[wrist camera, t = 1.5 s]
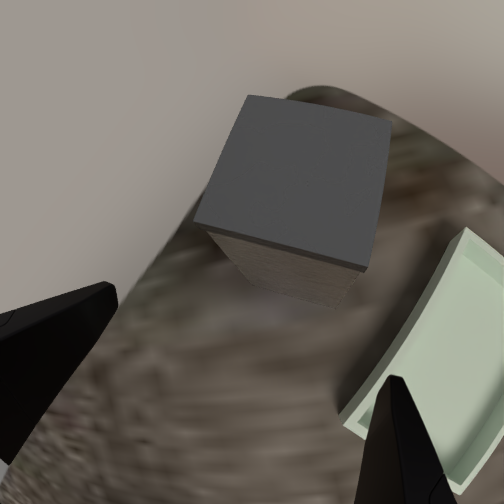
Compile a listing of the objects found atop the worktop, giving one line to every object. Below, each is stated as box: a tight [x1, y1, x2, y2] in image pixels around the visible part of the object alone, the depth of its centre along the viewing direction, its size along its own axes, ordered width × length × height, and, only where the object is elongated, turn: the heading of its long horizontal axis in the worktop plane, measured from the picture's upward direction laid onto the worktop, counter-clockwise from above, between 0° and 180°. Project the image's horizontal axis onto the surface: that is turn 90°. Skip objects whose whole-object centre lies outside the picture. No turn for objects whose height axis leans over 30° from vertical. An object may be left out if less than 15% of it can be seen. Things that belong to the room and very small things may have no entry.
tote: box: [339, 227, 504, 495], centre depth 17 cm, size 15×11×3 cm
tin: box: [193, 95, 392, 309], centre depth 17 cm, size 6×6×12 cm
